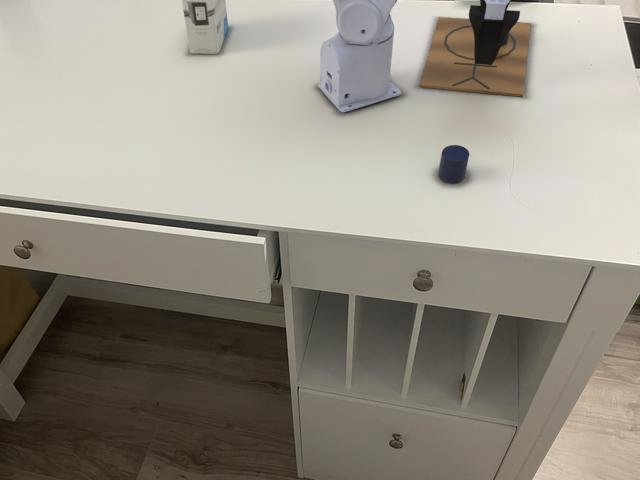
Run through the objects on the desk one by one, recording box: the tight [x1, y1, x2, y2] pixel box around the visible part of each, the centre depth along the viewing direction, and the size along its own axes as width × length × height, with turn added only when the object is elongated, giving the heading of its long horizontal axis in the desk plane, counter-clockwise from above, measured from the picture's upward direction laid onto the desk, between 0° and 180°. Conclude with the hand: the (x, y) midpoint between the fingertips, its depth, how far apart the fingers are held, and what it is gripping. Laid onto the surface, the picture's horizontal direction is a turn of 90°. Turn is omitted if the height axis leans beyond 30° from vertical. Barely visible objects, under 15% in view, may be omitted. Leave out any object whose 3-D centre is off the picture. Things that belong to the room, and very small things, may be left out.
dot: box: [437, 144, 470, 184], centre depth 81 cm, size 3×3×3 cm
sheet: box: [419, 16, 532, 98], centre depth 99 cm, size 20×14×1 cm
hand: (486, 47), depth 85 cm, fingers open, 7 cm apart
